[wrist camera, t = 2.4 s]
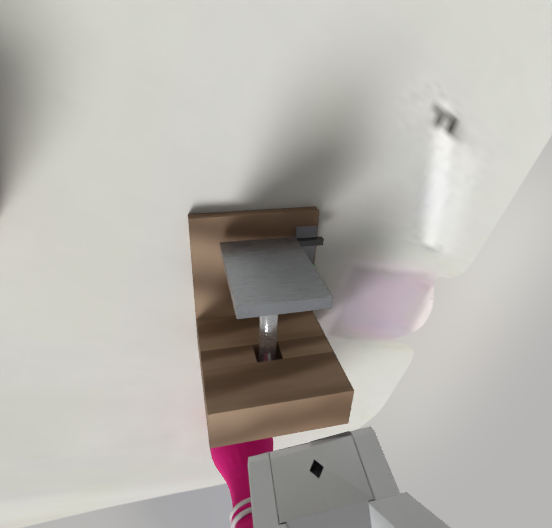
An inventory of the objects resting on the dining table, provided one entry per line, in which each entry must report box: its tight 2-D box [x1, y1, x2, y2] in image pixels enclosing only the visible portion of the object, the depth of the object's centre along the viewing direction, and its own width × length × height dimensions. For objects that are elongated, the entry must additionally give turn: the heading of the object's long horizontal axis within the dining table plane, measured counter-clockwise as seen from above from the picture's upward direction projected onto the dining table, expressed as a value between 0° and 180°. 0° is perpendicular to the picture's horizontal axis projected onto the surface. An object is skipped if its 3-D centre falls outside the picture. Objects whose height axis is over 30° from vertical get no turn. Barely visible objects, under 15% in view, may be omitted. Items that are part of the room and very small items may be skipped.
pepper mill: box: [210, 437, 273, 528], centre depth 43 cm, size 7×7×20 cm
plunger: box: [219, 236, 333, 362], centre depth 37 cm, size 12×10×10 cm
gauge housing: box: [188, 207, 354, 448], centre depth 37 cm, size 15×12×13 cm
